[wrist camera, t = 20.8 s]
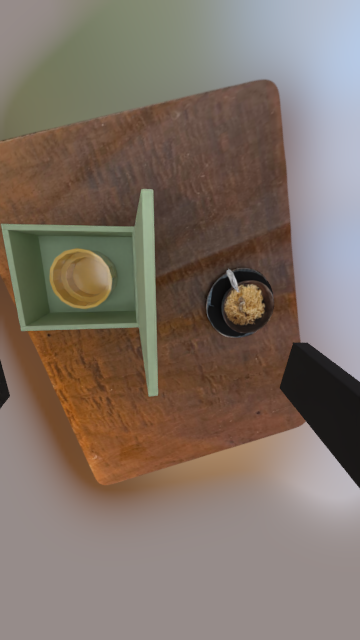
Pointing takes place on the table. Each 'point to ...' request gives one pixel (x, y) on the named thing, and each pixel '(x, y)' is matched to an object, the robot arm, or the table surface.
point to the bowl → (83, 277)
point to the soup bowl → (240, 303)
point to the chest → (34, 275)
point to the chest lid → (147, 286)
